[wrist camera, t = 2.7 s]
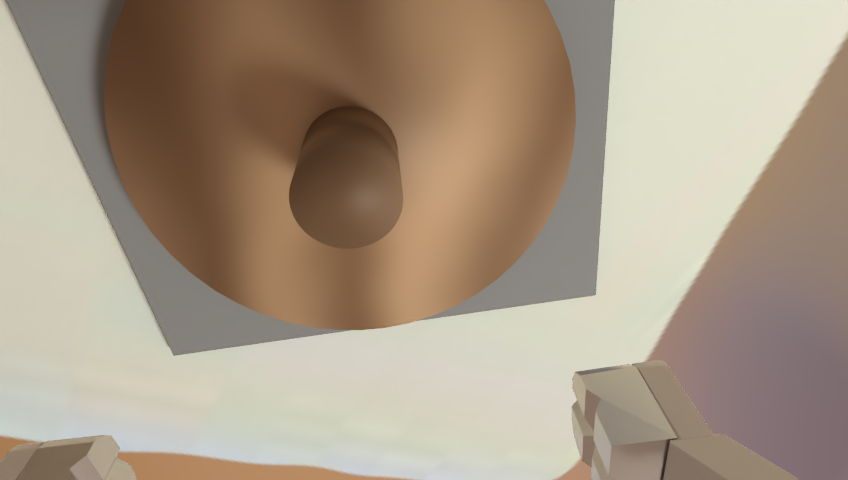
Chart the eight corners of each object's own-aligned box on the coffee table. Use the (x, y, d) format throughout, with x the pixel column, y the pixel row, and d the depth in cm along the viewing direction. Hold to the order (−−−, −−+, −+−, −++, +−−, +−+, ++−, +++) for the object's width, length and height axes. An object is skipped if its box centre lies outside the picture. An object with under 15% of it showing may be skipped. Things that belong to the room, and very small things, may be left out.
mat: (176, 349, 26) (173, 355, 25) (-31, -95, 16) (-39, -95, 16) (592, 290, 26) (595, 294, 26) (620, -179, 17) (626, -181, 16)
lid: (202, 342, 25) (169, 425, 21) (21, -82, 16) (-96, -82, 12) (564, 290, 25) (601, 362, 21) (576, -154, 17) (644, -178, 12)
